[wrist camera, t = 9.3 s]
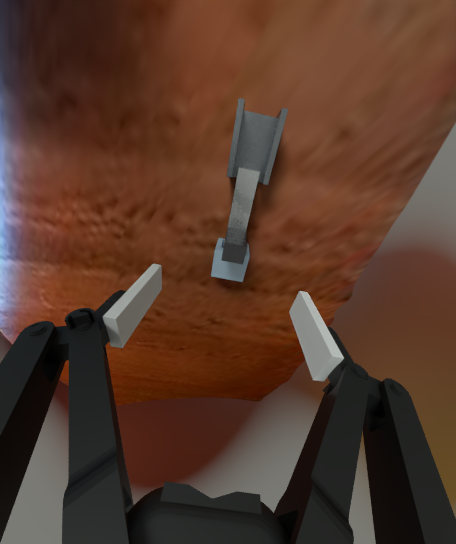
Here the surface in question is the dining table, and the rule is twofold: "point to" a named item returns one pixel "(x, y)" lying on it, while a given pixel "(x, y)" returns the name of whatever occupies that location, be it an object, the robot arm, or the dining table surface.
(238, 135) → the open u-shaped channel
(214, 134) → the dining table surface
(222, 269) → the socket
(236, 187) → the gray bent bar
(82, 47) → the dining table surface
